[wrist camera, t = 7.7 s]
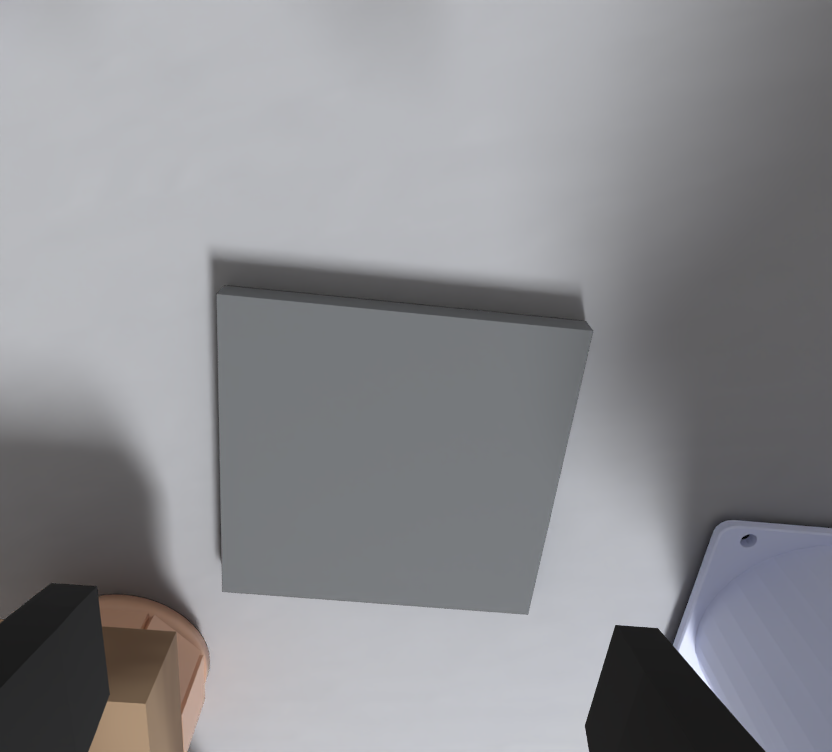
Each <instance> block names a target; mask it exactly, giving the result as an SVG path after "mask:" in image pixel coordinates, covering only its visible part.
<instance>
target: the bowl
mask: <svg viewBox="0 0 832 752" xmlns="http://www.w3.org/2000/svg"><path fill="white" fill-rule="evenodd" d="M98 598H99V607H100V615H101V624H102V626H103V627H118V628H132V629H146V630H161V631H175V632H176V633H177V650H178V666H179V683H180V700H181V716H182V733H183V750H184V752H188V749H189V746H190V743H191V740H192V737H193V734H194V731H195V728H196V725H197V722H198V719H199V716H200V713H201V710H202V707H203V704H204V701H205V682H206V679H207V676H208V673H209V669H210V657H209V652H208V648H207V645H206V643H205V641H204V639H203V637H202V636H201V634H200V633H199V631H198V630H197V629H196V628H195V627H194V626H193V625H192V624H191V623H190V622H189V621H188V620H187V619H186V618H185V617H183V616H182V615H180V614H179V613H178V612H176V611H174V610H173V609H171V608H169V607H167V606H165V605H163V604H160V603H158V602H156V601H152V600H149V599H146V598H142V597H137V596H131V595H115V594H113V595H102V596H98Z"/></svg>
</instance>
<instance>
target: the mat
mask: <svg viewBox="0 0 832 752" xmlns="http://www.w3.org/2000/svg"><path fill="white" fill-rule="evenodd" d="M592 334H593V330H592V329H591V327H590V326H589V325H588V323H587V322H586V321H580V320H570V319H559V318H549V317H539V316H529V315H519V314H509V313H499V312H488V311H478V310H468V309H458V308H448V307H438V306H428V305H418V304H407V303H397V302H387V301H377V300H367V299H357V298H347V297H337V296H326V295H316V294H306V293H296V292H286V291H276V290H266V289H256V288H245V287H235V286H225V285H224V287H223V288H222V289H221V290H220V291H219V292H218V293H217V345H218V398H219V450H220V503H221V555H222V592H231V593H245V594H258V595H271V596H285V597H298V598H311V599H325V600H338V601H352V602H365V603H378V604H392V605H405V606H419V607H432V608H445V609H459V610H472V611H486V612H499V613H512V614H526V615H528V612H529V608H530V604H531V599H532V595H533V591H534V586H535V582H536V578H537V573H538V569H539V565H540V560H541V556H542V552H543V547H544V543H545V538H546V534H547V530H548V525H549V521H550V517H551V512H552V508H553V504H554V499H555V495H556V491H557V486H558V482H559V478H560V473H561V469H562V465H563V460H564V456H565V451H566V447H567V443H568V438H569V434H570V430H571V425H572V421H573V417H574V412H575V408H576V404H577V399H578V395H579V391H580V386H581V382H582V378H583V373H584V369H585V364H586V360H587V356H588V351H589V347H590V343H591V338H592Z"/></svg>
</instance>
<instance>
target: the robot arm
mask: <svg viewBox="0 0 832 752" xmlns="http://www.w3.org/2000/svg"><path fill="white" fill-rule="evenodd" d="M748 534H750V536H749V537H748V538H746V539H742V537H744V536H745V535H748ZM741 539H742V540H741ZM109 695H110V691H109V683H108V674H107V666H106V657H105V649H104V640H103V632H102V624H101V615H100V607H99V598H98V590H97V587H96V586H83V585H69V584H56V583H51V584H50V585H48V586H47V587H46V588H45V589H43V590H42V591H41V592H39V593H38V594H37V595H35V596H34V597H33V598H32V599H30V600H29V601H28V602H26V603H25V604H24V605H22V606H21V607H20V608H19V609H17V610H16V611H15V612H14V613H12V614H11V615H10V616H8V617H7V618H6V619H5V620H3V621H2V622H1V623H0V752H88V751H89V749H90V746H91V744H92V741H93V739H94V736H95V733H96V731H97V728H98V725H99V722H100V720H101V717H102V714H103V712H104V709H105V706H106V703H107V701H108V698H109ZM585 729H586V735H587V741H588V747H589V752H832V528H823V527H811V526H799V525H787V524H775V523H763V522H751V521H739V520H727V521H724V522H722V523H720V524H719V525H718V526H716V528H715V530H714V531H713V534H712V537H711V539H710V542H709V545H708V548H707V551H706V553H705V556H704V559H703V562H702V565H701V567H700V570H699V573H698V576H697V579H696V581H695V584H694V587H693V590H692V593H691V595H690V598H689V601H688V604H687V607H686V609H685V612H684V615H683V618H682V621H681V623H680V626H679V629H678V632H677V635H676V637H675V640H674V643H673V645H672V644H671V643H670V642H669V640H668V639H667V638H666V637H665V636H664V635H663V634H662V633H661V631H660V630H659V629H658V628H647V627H634V626H621V625H615V628H614V632H613V635H612V638H611V642H610V645H609V648H608V651H607V655H606V658H605V661H604V665H603V668H602V671H601V674H600V678H599V681H598V684H597V688H596V691H595V694H594V698H593V701H592V704H591V707H590V711H589V714H588V717H587V721H586V724H585Z"/></svg>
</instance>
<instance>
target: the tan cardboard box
mask: <svg viewBox="0 0 832 752" xmlns="http://www.w3.org/2000/svg"><path fill="white" fill-rule="evenodd" d="M2 621H3V619H0V623H1V622H2ZM102 632H103V640H104V649H105V657H106V666H107V674H108V683H109V691H110V695H109V698H108V701H107V703H106V706H105V709H104V712H103V714H102V717H101V720H100V722H99V725H98V728H97V731H96V733H95V736H94V739H93V741H92V744H91V746H90V749H89V751H88V752H184V750H183V733H182V716H181V700H180V683H179V666H178V650H177V633H176V632H175V631H161V630H146V629H132V628H118V627H103V626H102Z"/></svg>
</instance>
